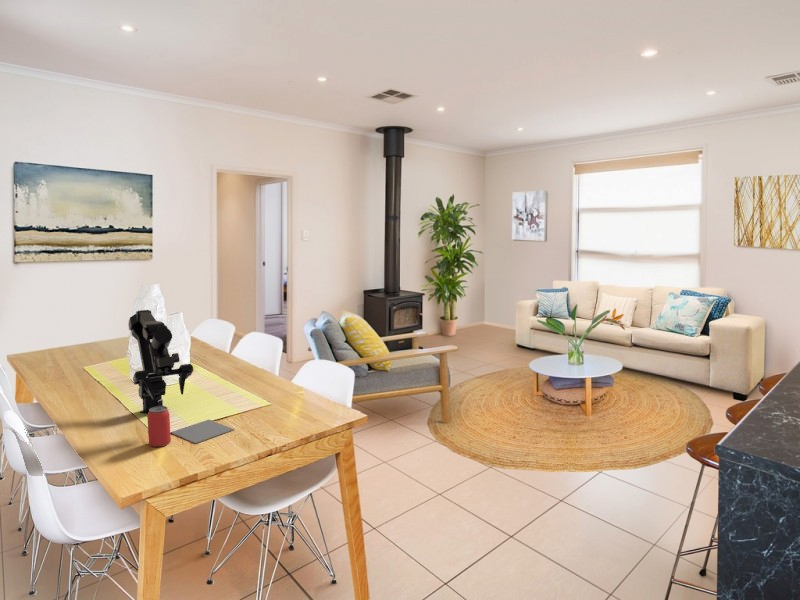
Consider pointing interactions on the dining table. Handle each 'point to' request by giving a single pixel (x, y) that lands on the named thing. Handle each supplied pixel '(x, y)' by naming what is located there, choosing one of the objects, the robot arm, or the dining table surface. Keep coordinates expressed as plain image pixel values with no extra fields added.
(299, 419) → the dining table surface
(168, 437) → the beer can
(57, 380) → the dining table surface
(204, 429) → the mat
